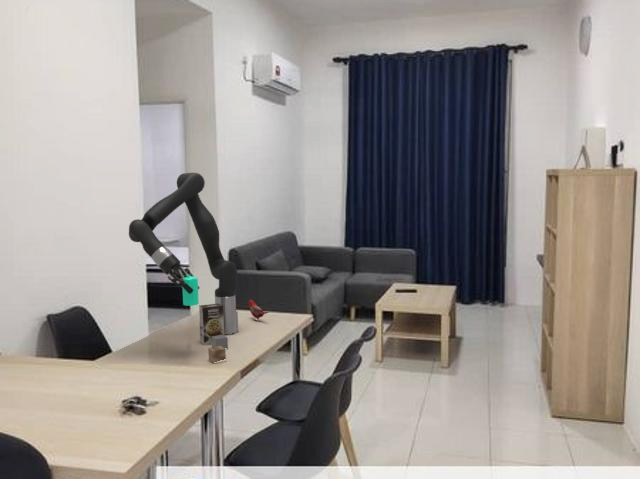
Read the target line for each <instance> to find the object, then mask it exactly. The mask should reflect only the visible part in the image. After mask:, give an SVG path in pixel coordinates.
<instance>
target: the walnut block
mask: <svg viewBox="0 0 640 479" xmlns="http://www.w3.org/2000/svg"><path fill="white" fill-rule="evenodd" d="M207 350H208V352H207V353H208V361H209V360H210V361H211V363H212V362H213V363H214V362H217V361H220V360H224V359H226V355H227V354H226V349H225V348H223V347H222V346H217V347H212V346H211V347H208V348H207ZM226 360H227V359H226ZM210 361H209V362H210ZM213 363H212V364H213Z"/></svg>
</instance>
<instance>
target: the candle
mask: <svg viewBox="0 0 640 479" xmlns="http://www.w3.org/2000/svg"><path fill="white" fill-rule="evenodd" d="M184 281H185V282H186V283H187V284H188V285H189V286H190V287H191V288H192V289H193V292H192V293H191V294H189V293H188V292H187V291H186V290H185V289H184V288H182V303H183V304H182V306H189V307H190V306H197V305H199V289H198V286H199V278H198V277H195V276H194V277H192V276H190V277H185V279H184Z"/></svg>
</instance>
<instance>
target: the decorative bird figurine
mask: <svg viewBox="0 0 640 479" xmlns="http://www.w3.org/2000/svg"><path fill="white" fill-rule="evenodd" d="M248 306H249V311H250V313H251V315H252V316H253V317H254V319H258V320H260V318H263V316H265V315H266V314H268V313H269V311H263V309H262V308H261V307H260V306H258V305H257V304H256V302H255V301H254V300H253V299H249V301H248Z"/></svg>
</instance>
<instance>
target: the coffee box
mask: <svg viewBox="0 0 640 479" xmlns="http://www.w3.org/2000/svg"><path fill="white" fill-rule="evenodd" d="M198 305H199V304H198ZM198 308H199V341H200V343H201V344H202V345H203V346H206V345H207V346H208V345H212V336H218V335H224V315H223V305H221V304H219V303H218V304H215V303H211V304H202V305H199V306H198ZM224 336H225V335H224Z"/></svg>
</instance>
